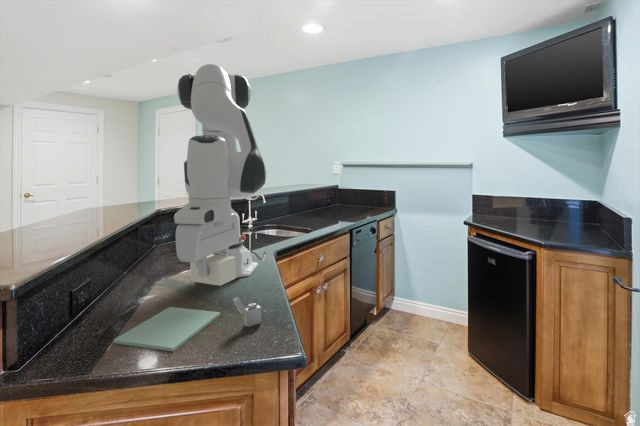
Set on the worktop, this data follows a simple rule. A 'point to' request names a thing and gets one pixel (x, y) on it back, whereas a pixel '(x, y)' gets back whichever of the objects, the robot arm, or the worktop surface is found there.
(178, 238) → the robot arm
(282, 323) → the worktop surface
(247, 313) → the lighter
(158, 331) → the mat
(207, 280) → the card box
